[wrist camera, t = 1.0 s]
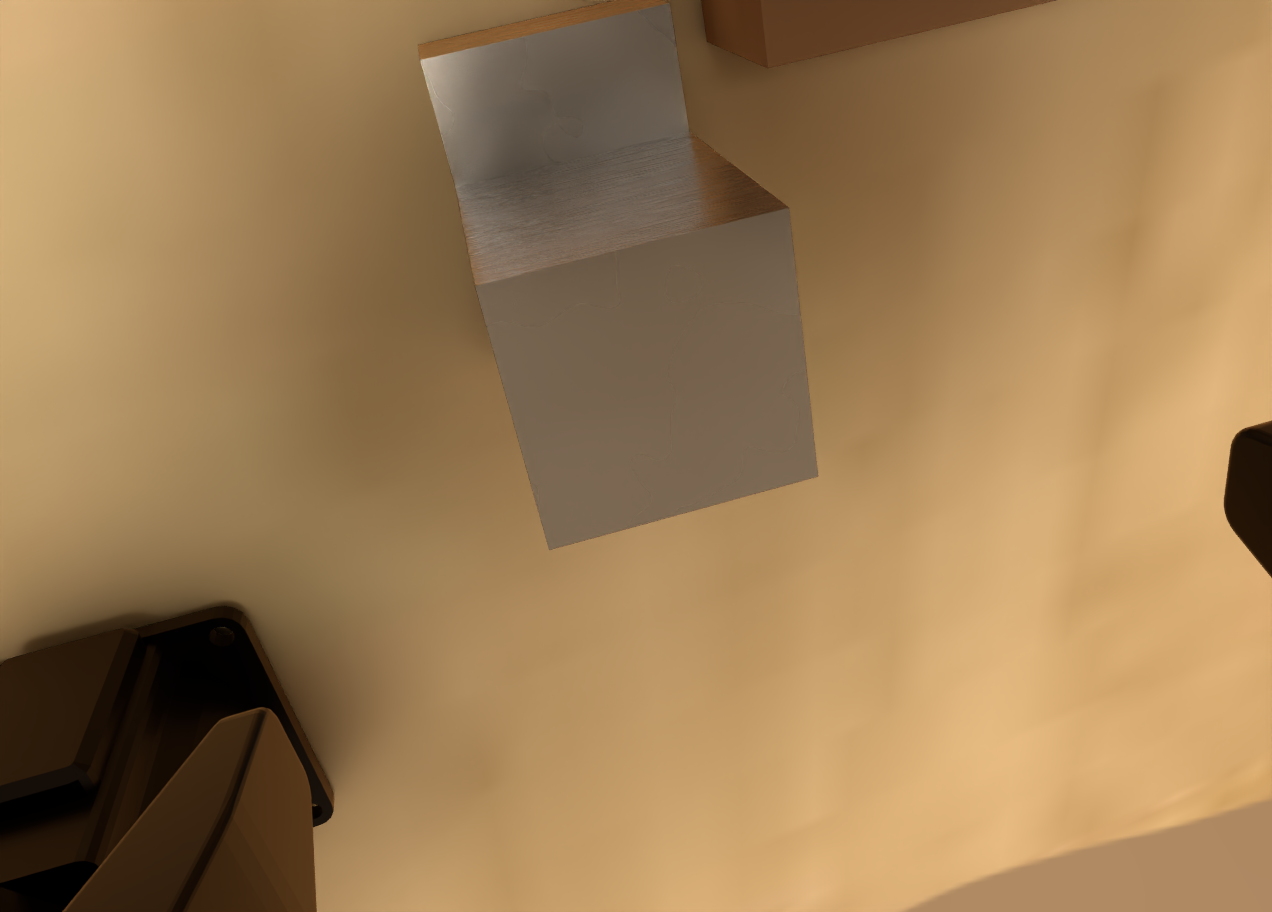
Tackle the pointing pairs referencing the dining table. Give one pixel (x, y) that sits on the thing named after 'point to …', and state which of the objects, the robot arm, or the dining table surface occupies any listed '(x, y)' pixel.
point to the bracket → (621, 272)
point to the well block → (831, 23)
